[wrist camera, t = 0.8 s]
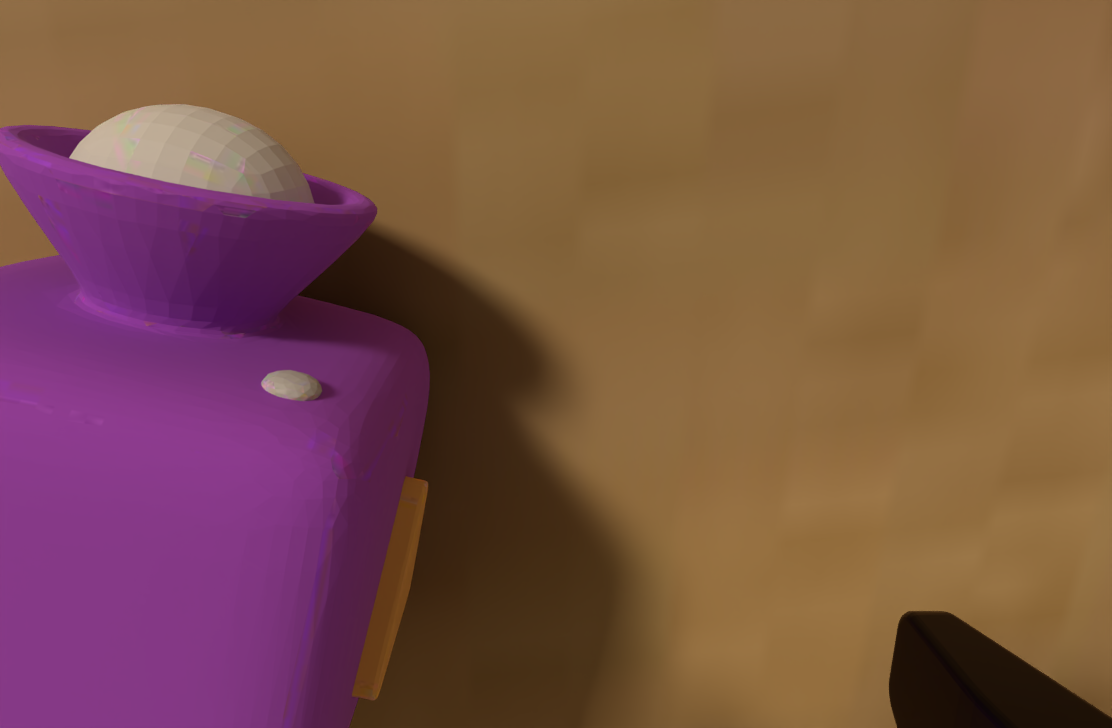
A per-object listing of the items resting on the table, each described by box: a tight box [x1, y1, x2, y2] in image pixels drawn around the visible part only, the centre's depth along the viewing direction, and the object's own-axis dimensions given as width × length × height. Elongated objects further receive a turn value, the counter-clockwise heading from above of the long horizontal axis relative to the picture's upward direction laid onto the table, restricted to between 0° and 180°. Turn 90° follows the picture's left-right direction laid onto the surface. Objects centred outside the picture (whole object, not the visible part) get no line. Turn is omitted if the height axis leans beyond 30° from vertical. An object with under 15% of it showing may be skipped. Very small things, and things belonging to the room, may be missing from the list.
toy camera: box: [0, 104, 430, 728], centre depth 16 cm, size 11×14×10 cm
